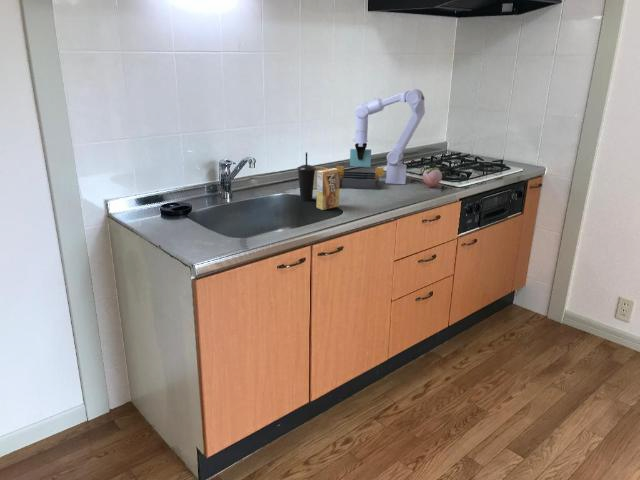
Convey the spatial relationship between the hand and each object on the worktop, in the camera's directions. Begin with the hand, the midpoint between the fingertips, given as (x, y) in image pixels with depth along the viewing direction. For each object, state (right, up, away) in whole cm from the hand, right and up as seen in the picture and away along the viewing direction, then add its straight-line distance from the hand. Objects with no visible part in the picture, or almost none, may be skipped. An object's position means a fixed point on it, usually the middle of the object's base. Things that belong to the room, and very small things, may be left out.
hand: (360, 158), depth 252 cm
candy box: (-16, -26, -42) cm, 52 cm away
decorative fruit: (+32, -15, -10) cm, 37 cm away
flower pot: (-21, -16, -14) cm, 29 cm away
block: (0, -3, +1) cm, 3 cm away
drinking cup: (-25, -22, -32) cm, 47 cm away
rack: (-1, -13, -8) cm, 15 cm away
